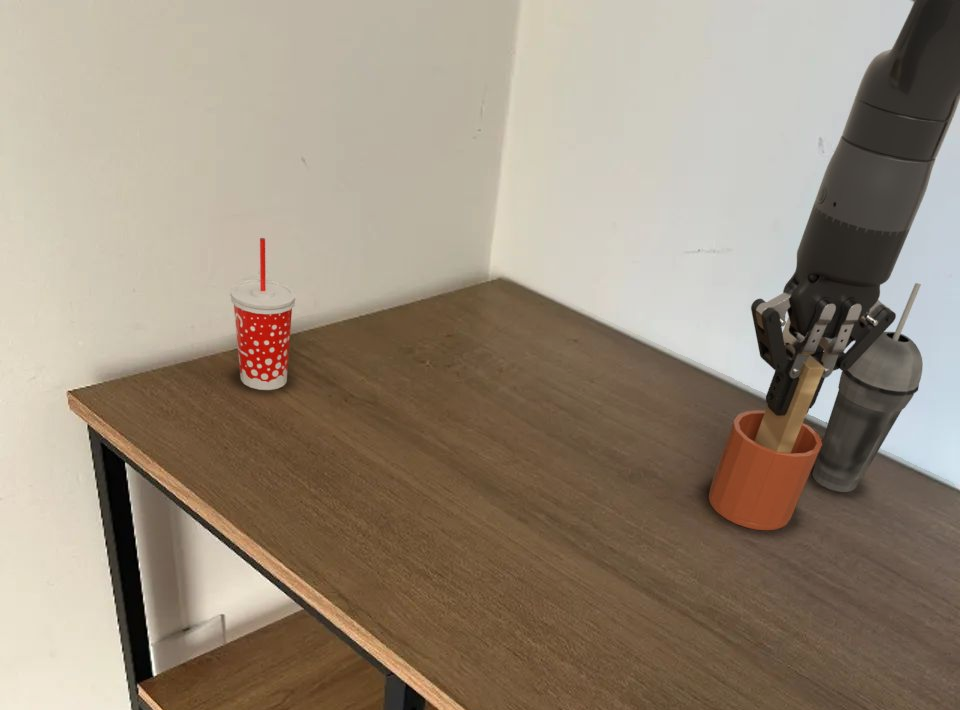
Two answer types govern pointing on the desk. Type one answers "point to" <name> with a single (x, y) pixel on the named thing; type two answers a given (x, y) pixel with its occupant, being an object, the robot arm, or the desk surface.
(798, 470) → the utensil cup
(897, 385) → the beverage cup
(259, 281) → the beverage cup
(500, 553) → the desk surface
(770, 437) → the wooden block
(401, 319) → the desk surface
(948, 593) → the desk surface
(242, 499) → the desk surface
